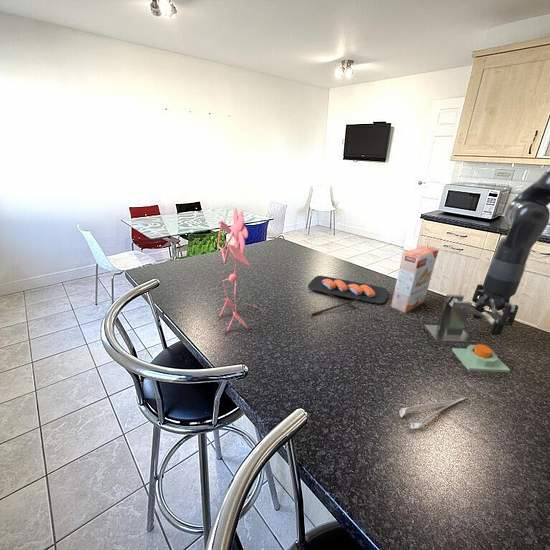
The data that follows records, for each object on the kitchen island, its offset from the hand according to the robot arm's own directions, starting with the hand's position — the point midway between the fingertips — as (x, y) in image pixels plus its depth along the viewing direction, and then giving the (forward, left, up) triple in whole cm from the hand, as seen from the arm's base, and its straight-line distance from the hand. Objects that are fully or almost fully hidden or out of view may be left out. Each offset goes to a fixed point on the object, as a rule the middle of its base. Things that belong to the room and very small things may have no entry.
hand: (485, 325), depth 85 cm
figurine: (+72, -5, -4) cm, 72 cm away
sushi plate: (+38, -20, -4) cm, 43 cm away
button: (+8, +12, -1) cm, 14 cm away
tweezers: (+26, +28, -4) cm, 38 cm away
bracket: (+10, 0, -4) cm, 11 cm away
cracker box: (+15, -18, -4) cm, 24 cm away
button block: (+8, +12, -4) cm, 15 cm away
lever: (+6, 0, +4) cm, 7 cm away
